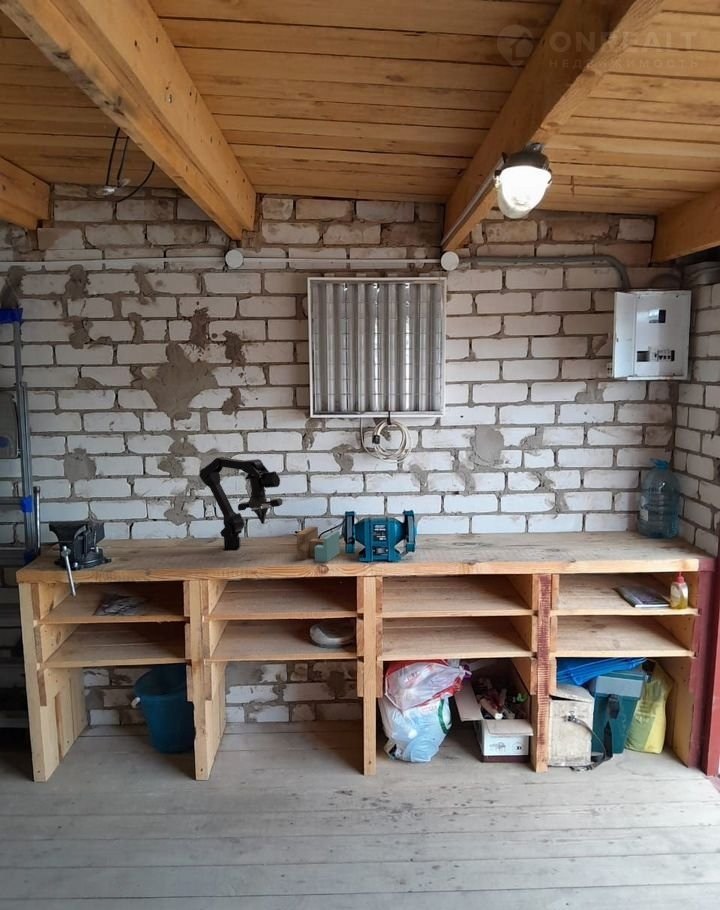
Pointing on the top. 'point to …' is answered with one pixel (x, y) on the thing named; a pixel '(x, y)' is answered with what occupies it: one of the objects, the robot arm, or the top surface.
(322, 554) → the teal block
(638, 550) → the top surface
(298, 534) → the walnut t block
